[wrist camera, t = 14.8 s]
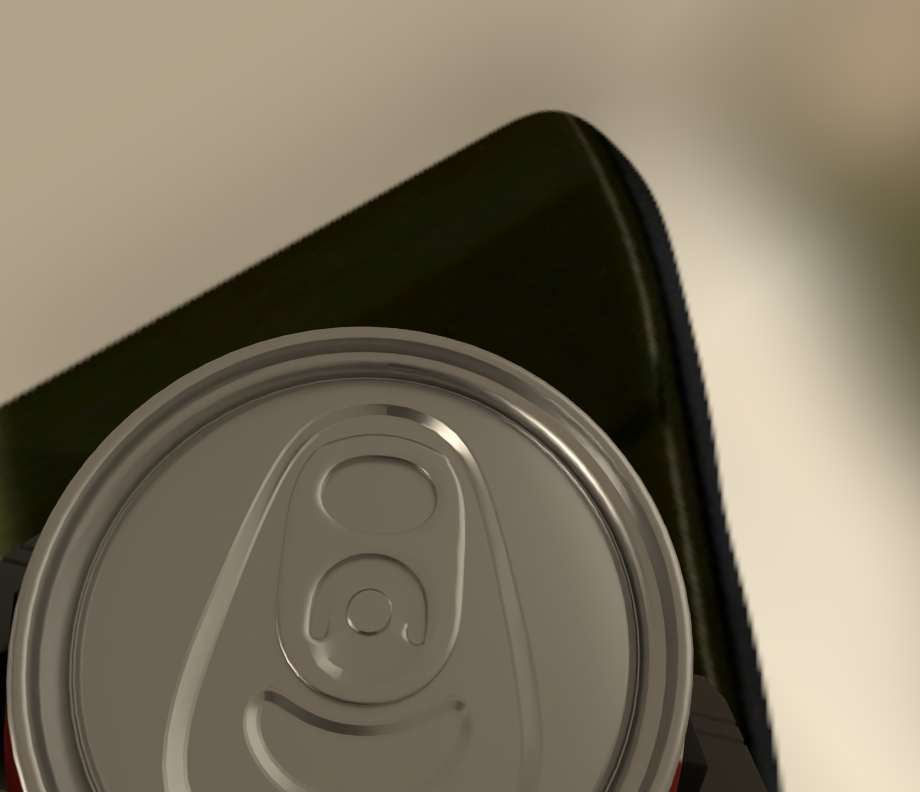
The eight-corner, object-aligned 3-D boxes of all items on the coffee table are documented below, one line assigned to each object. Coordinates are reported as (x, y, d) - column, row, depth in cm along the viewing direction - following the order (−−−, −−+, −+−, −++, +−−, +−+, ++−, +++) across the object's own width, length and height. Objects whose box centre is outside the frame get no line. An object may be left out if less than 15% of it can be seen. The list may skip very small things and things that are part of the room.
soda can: (157, 946, 14) (-293, 1162, 4) (223, 591, 18) (62, 242, 8) (510, 953, 15) (856, 1155, 5) (508, 609, 19) (708, 308, 8)
